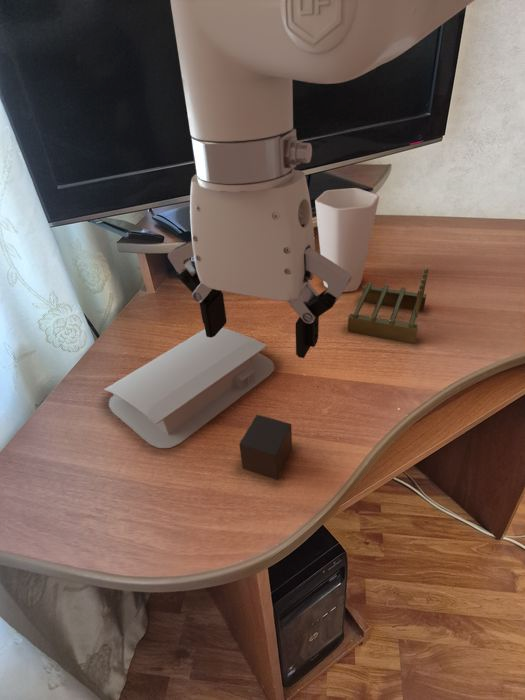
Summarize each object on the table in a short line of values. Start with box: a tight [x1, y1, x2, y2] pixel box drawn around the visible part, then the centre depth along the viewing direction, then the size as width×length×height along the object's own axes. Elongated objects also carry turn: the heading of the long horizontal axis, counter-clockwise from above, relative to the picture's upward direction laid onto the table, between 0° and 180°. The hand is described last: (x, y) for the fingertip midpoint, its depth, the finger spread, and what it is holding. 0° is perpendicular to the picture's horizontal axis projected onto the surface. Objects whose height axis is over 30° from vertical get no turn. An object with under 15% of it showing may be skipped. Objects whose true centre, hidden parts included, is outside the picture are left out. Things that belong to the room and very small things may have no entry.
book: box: [104, 327, 275, 449], centre depth 65 cm, size 15×23×4 cm, turn 137°
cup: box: [314, 187, 380, 293], centre depth 82 cm, size 11×10×17 cm
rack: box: [347, 267, 429, 345], centre depth 74 cm, size 11×11×9 cm
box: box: [238, 414, 293, 480], centre depth 53 cm, size 5×5×5 cm
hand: (259, 339), depth 44 cm, fingers open, 9 cm apart
